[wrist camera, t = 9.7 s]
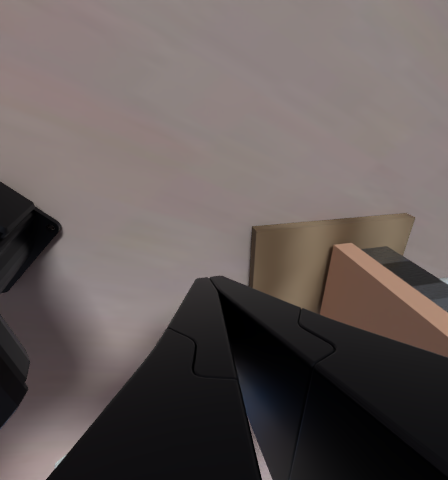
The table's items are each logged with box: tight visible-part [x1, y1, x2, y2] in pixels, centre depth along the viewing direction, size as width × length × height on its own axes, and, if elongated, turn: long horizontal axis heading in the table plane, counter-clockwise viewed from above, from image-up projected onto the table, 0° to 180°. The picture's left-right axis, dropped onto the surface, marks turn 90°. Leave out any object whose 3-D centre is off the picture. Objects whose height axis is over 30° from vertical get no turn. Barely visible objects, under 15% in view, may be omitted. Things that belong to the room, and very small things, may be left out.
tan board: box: [249, 213, 415, 314], centre depth 25 cm, size 14×10×1 cm
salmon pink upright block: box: [320, 243, 448, 357], centre depth 21 cm, size 10×7×10 cm
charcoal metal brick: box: [361, 246, 448, 312], centre depth 23 cm, size 4×5×7 cm
